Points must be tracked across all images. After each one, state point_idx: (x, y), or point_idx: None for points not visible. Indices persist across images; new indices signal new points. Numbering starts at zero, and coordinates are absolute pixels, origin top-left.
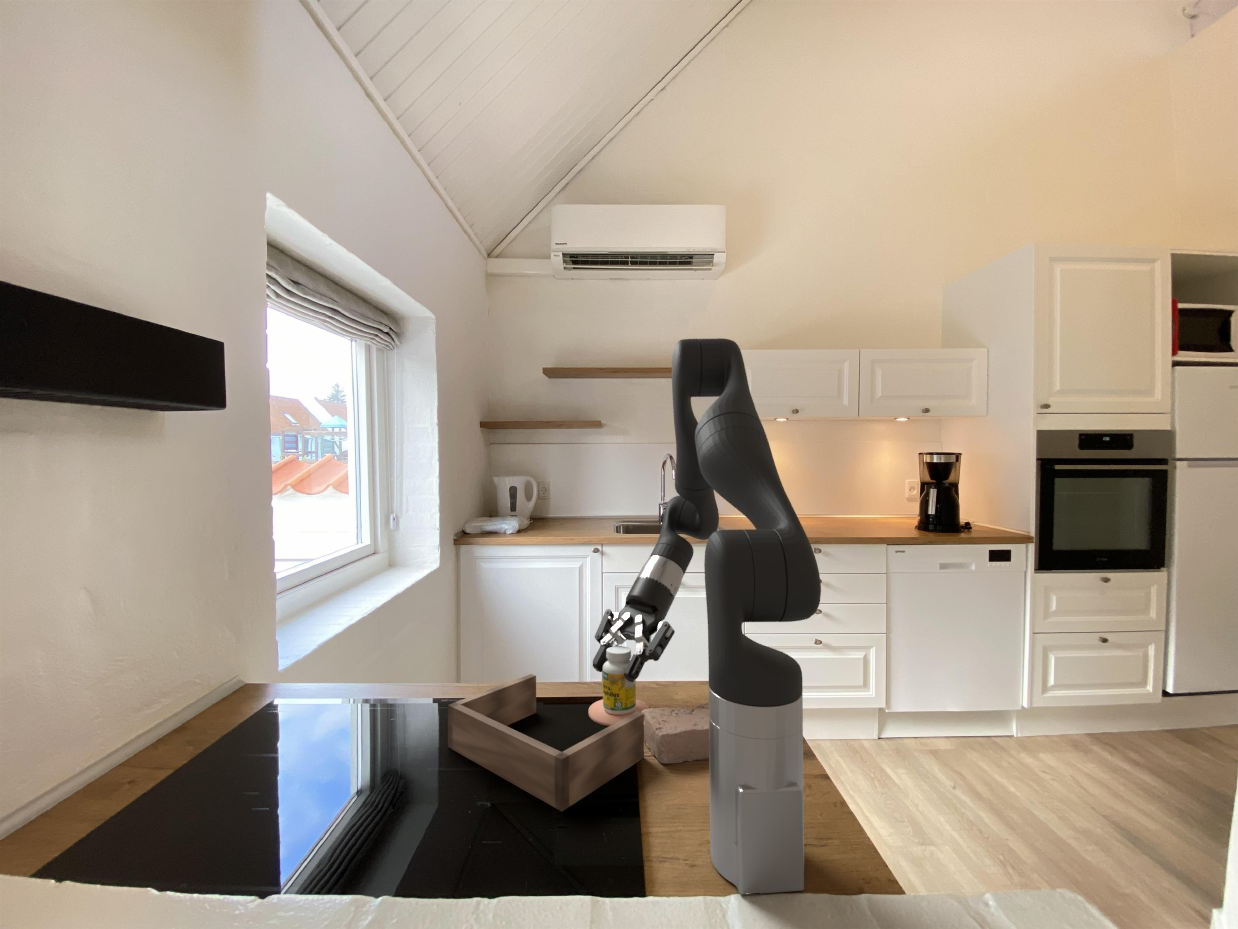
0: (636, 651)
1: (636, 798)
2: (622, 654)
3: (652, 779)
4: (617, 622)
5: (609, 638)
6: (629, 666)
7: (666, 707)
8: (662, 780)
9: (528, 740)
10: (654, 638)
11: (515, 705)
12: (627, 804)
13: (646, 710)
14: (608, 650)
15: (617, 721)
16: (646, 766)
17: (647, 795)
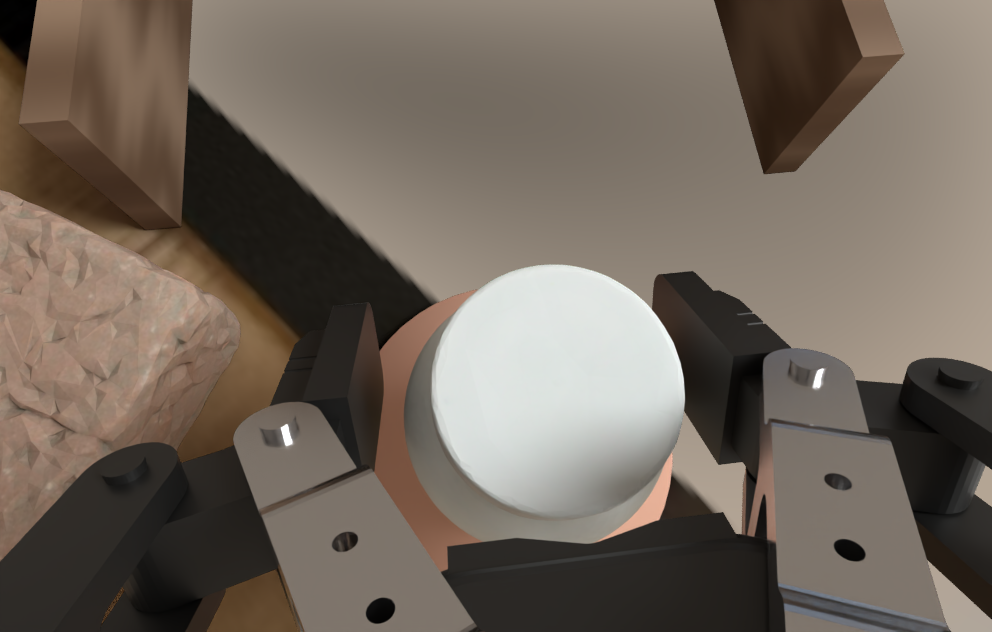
0: (315, 415)
1: (25, 56)
2: (443, 331)
3: (38, 155)
4: (918, 556)
5: (777, 405)
6: (339, 332)
7: (104, 426)
8: (3, 173)
9: None
10: (52, 612)
11: (766, 29)
12: (33, 22)
13: (160, 296)
14: (607, 292)
15: (419, 340)
16: (104, 197)
17: (3, 86)
